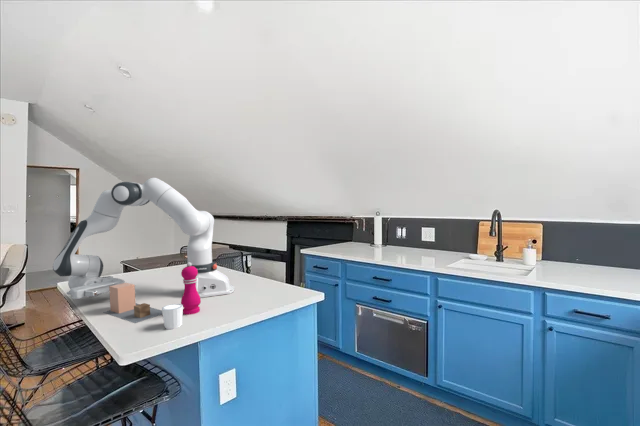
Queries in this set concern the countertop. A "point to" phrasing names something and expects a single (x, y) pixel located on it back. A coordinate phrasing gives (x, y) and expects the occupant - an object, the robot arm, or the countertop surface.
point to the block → (142, 310)
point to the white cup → (172, 315)
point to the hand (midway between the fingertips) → (107, 291)
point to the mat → (130, 316)
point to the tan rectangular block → (122, 297)
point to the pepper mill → (190, 290)
